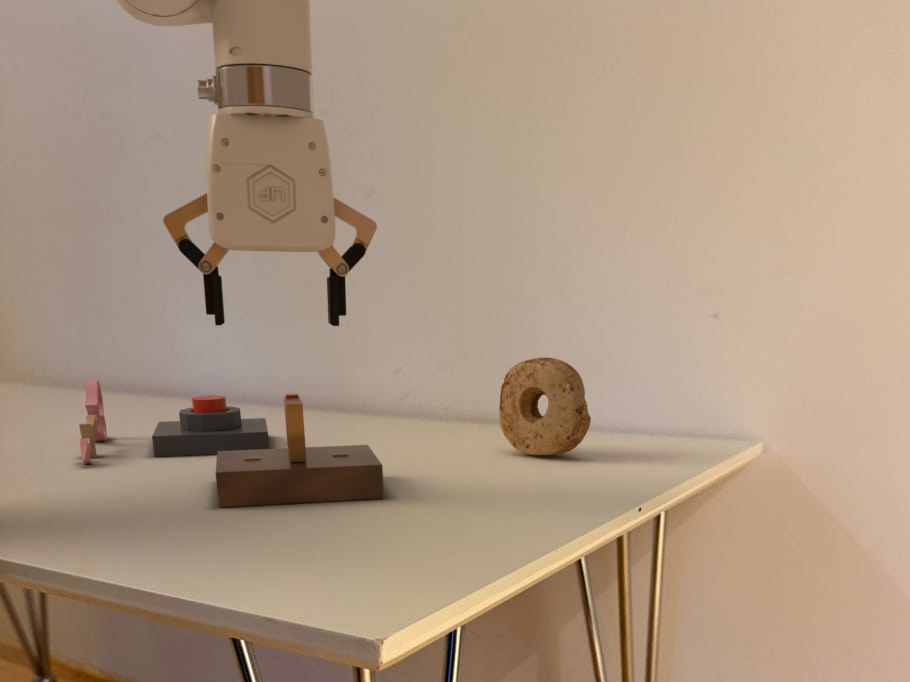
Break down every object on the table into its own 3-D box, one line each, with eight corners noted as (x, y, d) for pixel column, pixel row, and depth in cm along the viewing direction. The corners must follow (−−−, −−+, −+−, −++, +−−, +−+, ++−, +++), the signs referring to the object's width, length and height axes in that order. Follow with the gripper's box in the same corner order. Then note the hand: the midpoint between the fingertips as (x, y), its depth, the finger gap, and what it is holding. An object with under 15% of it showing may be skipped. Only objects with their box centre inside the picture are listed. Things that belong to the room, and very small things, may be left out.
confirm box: (154, 457, 104) (149, 418, 103) (160, 441, 113) (156, 405, 112) (269, 452, 107) (266, 414, 105) (266, 436, 116) (264, 402, 114)
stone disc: (491, 452, 106) (491, 356, 102) (511, 447, 109) (512, 354, 105) (572, 464, 100) (575, 362, 96) (591, 458, 103) (595, 359, 99)
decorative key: (82, 496, 99) (97, 432, 116) (95, 496, 100) (107, 432, 116) (71, 431, 96) (87, 375, 113) (84, 431, 96) (98, 375, 113)
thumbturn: (306, 461, 86) (302, 400, 84) (290, 462, 85) (285, 401, 83) (303, 451, 90) (299, 393, 88) (287, 452, 90) (283, 393, 88)
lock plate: (218, 507, 83) (215, 470, 82) (220, 483, 92) (217, 449, 91) (383, 498, 86) (382, 462, 85) (369, 475, 95) (368, 442, 94)
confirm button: (192, 416, 107) (191, 400, 106) (194, 411, 110) (192, 395, 109) (226, 415, 107) (225, 399, 107) (227, 410, 111) (225, 394, 110)
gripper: (148, 86, 73) (169, 327, 79) (379, 99, 77) (383, 328, 83) (156, 101, 80) (176, 321, 86) (368, 112, 84) (372, 323, 90)
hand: (277, 324), depth 85 cm, fingers open, 9 cm apart
